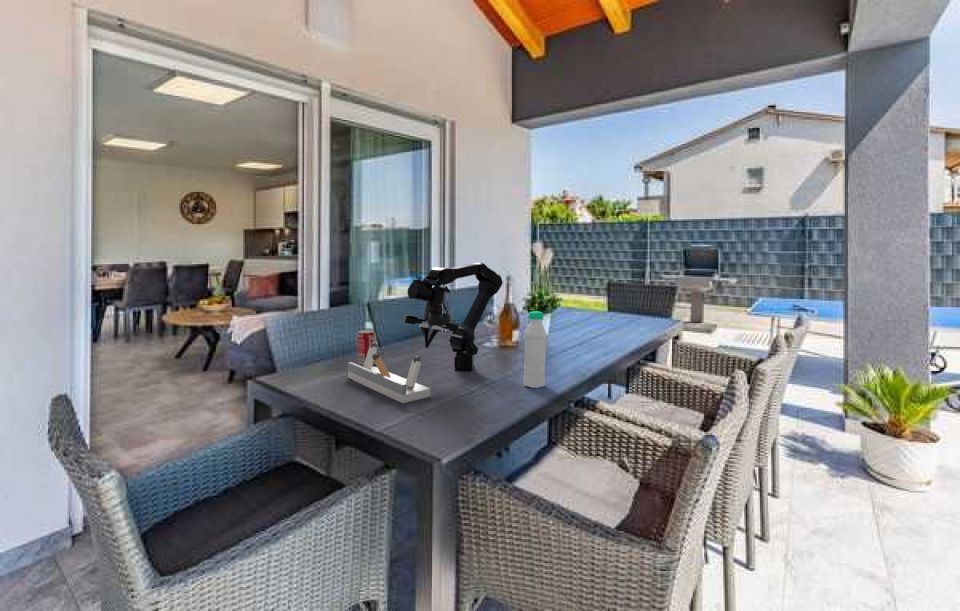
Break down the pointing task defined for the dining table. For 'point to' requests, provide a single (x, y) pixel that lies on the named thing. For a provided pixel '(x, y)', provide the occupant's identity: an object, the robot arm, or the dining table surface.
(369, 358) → the cream lever
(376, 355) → the lever orange
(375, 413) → the dining table surface
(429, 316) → the robot arm
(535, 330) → the water bottle
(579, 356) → the dining table surface
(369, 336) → the soda can
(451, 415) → the dining table surface
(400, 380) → the switch panel
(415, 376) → the cream lever
